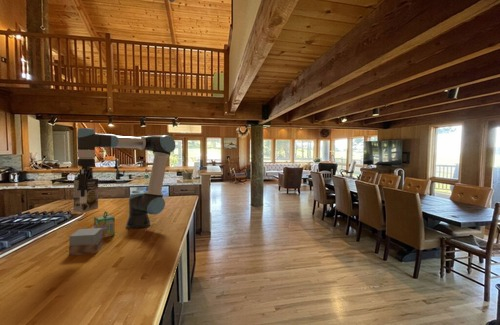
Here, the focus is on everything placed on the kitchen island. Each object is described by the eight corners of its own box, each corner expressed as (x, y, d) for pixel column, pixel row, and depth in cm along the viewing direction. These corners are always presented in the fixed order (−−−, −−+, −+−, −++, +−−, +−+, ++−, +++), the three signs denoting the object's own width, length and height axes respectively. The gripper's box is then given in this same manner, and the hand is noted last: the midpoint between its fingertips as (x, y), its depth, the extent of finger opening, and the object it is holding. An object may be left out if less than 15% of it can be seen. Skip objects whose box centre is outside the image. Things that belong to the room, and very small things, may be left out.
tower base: (102, 244, 133) (102, 236, 133) (97, 253, 122) (97, 244, 121) (77, 247, 129) (77, 238, 129) (68, 256, 118) (68, 246, 117)
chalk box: (93, 235, 146) (93, 211, 145) (110, 232, 153) (110, 209, 152) (97, 239, 140) (97, 214, 139) (115, 235, 146) (115, 212, 146)
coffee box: (83, 212, 119) (83, 180, 118) (73, 211, 120) (72, 179, 119) (98, 208, 128) (98, 178, 127) (88, 207, 129) (88, 178, 128)
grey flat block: (102, 236, 132) (102, 227, 131) (94, 244, 121) (94, 234, 121) (79, 238, 129) (79, 229, 129) (69, 246, 118) (69, 236, 118)
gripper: (84, 157, 132) (84, 196, 133) (69, 159, 111) (70, 205, 112) (99, 157, 135) (99, 196, 136) (88, 159, 113) (88, 205, 114)
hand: (86, 200), depth 124 cm, fingers closed on coffee box, 10 cm apart
